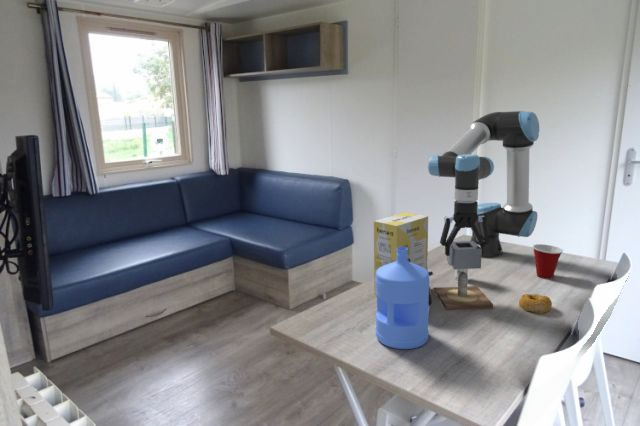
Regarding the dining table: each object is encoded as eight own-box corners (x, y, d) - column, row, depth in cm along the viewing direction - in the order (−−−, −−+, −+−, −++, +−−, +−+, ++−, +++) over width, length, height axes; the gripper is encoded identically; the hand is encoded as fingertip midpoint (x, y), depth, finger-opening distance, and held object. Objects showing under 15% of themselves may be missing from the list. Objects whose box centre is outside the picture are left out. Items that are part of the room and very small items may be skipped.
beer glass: (469, 275, 180) (470, 240, 177) (473, 282, 173) (475, 245, 170) (451, 275, 181) (452, 240, 177) (455, 282, 174) (456, 245, 171)
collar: (446, 260, 160) (447, 241, 158) (472, 259, 160) (472, 240, 158) (454, 269, 151) (455, 249, 150) (480, 268, 151) (481, 248, 150)
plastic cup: (566, 281, 171) (569, 251, 169) (537, 281, 172) (540, 252, 169) (552, 270, 182) (555, 242, 179) (525, 271, 182) (527, 243, 179)
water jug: (392, 320, 145) (392, 237, 139) (437, 334, 135) (439, 246, 129) (365, 340, 133) (364, 251, 127) (412, 356, 124) (414, 261, 117)
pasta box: (404, 280, 178) (405, 212, 172) (426, 287, 170) (428, 216, 164) (374, 293, 166) (373, 221, 160) (396, 301, 159) (396, 226, 152)
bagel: (547, 301, 154) (548, 289, 153) (554, 316, 144) (555, 302, 143) (516, 300, 157) (516, 287, 156) (521, 314, 147) (522, 300, 146)
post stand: (434, 291, 166) (434, 265, 164) (476, 289, 166) (478, 263, 164) (445, 310, 151) (446, 281, 148) (493, 308, 151) (494, 280, 148)
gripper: (436, 204, 147) (435, 268, 152) (502, 201, 147) (498, 266, 152) (431, 199, 154) (429, 261, 159) (494, 197, 154) (490, 259, 159)
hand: (463, 263), depth 155 cm, fingers closed on collar, 9 cm apart
